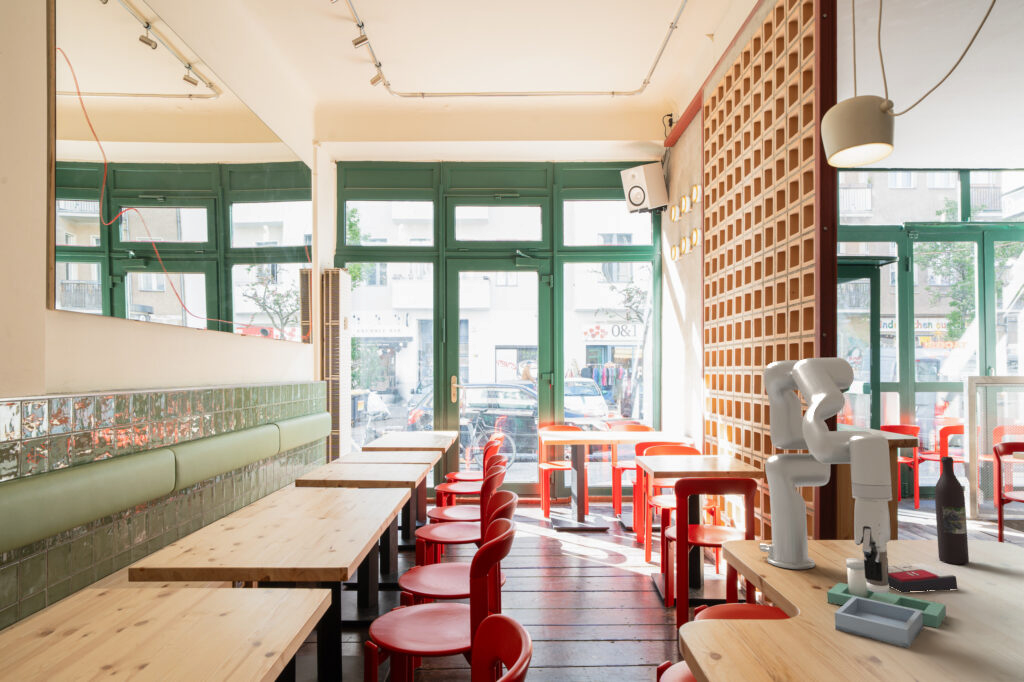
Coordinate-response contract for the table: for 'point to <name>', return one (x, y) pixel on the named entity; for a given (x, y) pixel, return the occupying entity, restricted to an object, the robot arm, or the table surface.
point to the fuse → (856, 577)
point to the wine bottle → (951, 516)
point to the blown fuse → (883, 585)
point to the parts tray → (879, 621)
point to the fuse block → (894, 603)
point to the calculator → (919, 578)
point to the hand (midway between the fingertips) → (876, 576)
